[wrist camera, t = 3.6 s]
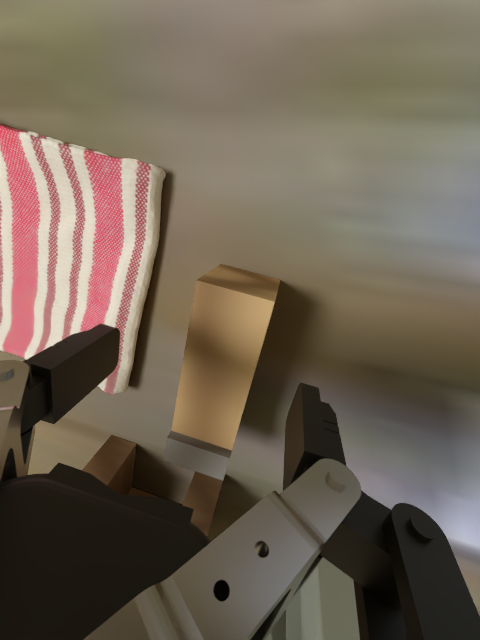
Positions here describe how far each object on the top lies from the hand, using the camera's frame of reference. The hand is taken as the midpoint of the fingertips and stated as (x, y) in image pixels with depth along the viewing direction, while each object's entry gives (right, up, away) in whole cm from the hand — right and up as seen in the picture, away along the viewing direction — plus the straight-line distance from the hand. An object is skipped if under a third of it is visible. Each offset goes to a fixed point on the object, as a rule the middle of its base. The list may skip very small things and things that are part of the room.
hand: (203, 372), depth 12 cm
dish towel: (-16, +8, +10) cm, 20 cm away
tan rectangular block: (+1, 0, +9) cm, 9 cm away
